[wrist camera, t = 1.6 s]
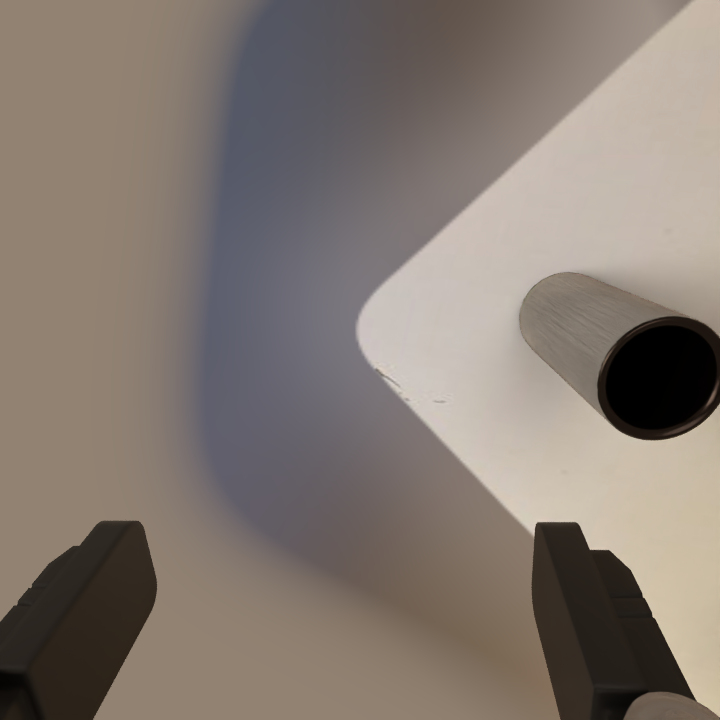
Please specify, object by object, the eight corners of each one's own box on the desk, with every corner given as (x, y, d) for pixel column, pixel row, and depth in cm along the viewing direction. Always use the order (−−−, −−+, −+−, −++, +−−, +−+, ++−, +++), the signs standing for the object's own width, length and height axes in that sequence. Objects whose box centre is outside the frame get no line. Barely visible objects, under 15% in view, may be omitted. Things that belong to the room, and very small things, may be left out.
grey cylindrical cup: (588, 366, 30) (699, 454, 20) (506, 347, 30) (578, 426, 20) (620, 283, 29) (754, 333, 19) (534, 262, 28) (626, 301, 19)
